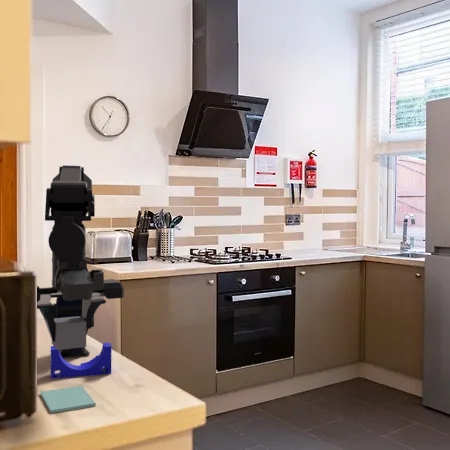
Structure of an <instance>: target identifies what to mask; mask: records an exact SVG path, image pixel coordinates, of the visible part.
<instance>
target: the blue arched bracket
mask: <svg viewBox="0 0 450 450" xmlns="http://www.w3.org/2000/svg"><path fill="white" fill-rule="evenodd" d="M112 348H113V347H112V345H111V342H103V343H102V347H101V351H100V352H99V354H97V355H95V356H94V357H93V358H92V359H91V360H89V361H85V362H82V363H80V364H79V365H76V364H72V363H69V362H68V361H66V359H65V358H62V356H61V354H60V352H59V350H57V349H56V348H55V347H54V345H51V346H50V379H51V380H52V379H62V378H64V379H65V378H77V377H90V376H101V375H103V376H104V375H111V374H112ZM56 371H59V372H56Z"/></svg>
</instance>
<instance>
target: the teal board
mask: <svg viewBox="0 0 450 450" xmlns="http://www.w3.org/2000/svg"><path fill="white" fill-rule="evenodd" d="M40 396H41V398H42V400H43V401H44V403H45V405H46V407H47V409H48V411H49V412H50V414H54V413H62V412H68V411H73V410H79V409H85V408H86V409H87V408H91V407H97V406H96V402H95V400H94V399H93V398H92V397H91V395H90V394H89V393H88V391H86V389H85V388H84V386H82V385H77V386H70V387H63V388H56V389H50V390H48V389H47V390H44V391H40Z"/></svg>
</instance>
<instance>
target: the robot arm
mask: <svg viewBox="0 0 450 450" xmlns="http://www.w3.org/2000/svg"><path fill="white" fill-rule="evenodd" d="M58 170H59V171H58V173H57V175H55V176H54V177H53V178H52V181H51V182H50V185H49V186H50V187H47V188H46V191H45V209H44V210H45V211H44V222H45V221H46V222H47V221H50V222H51V221H52V222H54V223H53V225H52V227H51V228H52V230H51V232H50V234H49V235H48V241H47V242H48V247H49V248H50V251H52V253H51V263H52V264H51V268H52V269H51V271H52V272H51V286H50V287H40V286H39V285H37V310H39V311H40V313H41V315H42V318H43V320H44V323H45V326H46V328H47V330H48V334H49V337H50V339H51V342H52V341H55V324H54V318H66V317H77V316H80V317H81V318H82V319H84V320H85V321H86V336H87V335H88V331H89V329H90V330H91V329H92V328H93V327H95V314H96V311H97V309H99V307H100V306H101V305H105V304H106V303H107V300H112V299H123V298H124V295H125V294H124V290H125V289H124V285H123V283H122V282H120V281H118V280H116V279H114V278H113V279H111V278H110V279H105V278H104V277H105V274H104V271H103V269H91V270H88V263H87V259H86V231H87V230H86V229H87V228H86V226H85V224H84V223H83V222H91V221H92V217H93V218H94V217H95V215H96V214H95V211H96V208H95V204H96V203H95V200H96V199H95V194H94V193H93V183H92V182H93V180H92V179H91V178H90V177H89V176H88V175H87V174H86V173H85V167H84V166H81V165H66V164H65V165H61V166H59V168H58ZM53 298H54V299H56V300H55V301H56V303H52V302H51V300H52V299H53ZM105 298H106V299H107V300H106V299H105ZM59 352H60V354H61V356H62V358H63V359H65V358H67V359H68V358H75V357H81V356H89V355H90V352H89V350H88V349H86V347H80V348H71V349H63V350H59Z"/></svg>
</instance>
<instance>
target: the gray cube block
mask: <svg viewBox="0 0 450 450" xmlns="http://www.w3.org/2000/svg"><path fill="white" fill-rule="evenodd" d="M54 324H55V341H52V340H51V345H52V346H54V347H55V348H56V349H57V350H63V349H71V348H80V347H85V348H87V335H86V321H85V320H84V319H82V318H81V317H80V316H77V317H66V318H54Z"/></svg>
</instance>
